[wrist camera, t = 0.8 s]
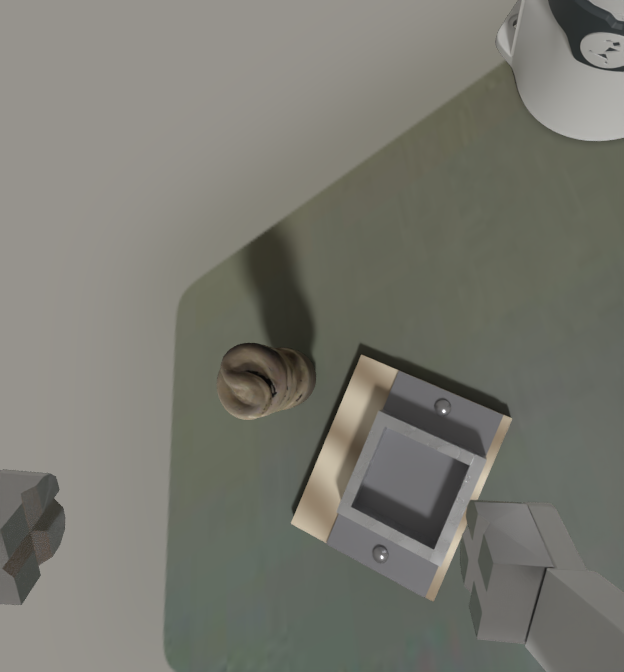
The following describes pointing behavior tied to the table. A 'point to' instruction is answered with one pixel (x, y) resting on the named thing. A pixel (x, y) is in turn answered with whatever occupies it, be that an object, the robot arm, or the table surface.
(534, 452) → the table surface
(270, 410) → the light bulb
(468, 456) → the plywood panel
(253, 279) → the table surface
